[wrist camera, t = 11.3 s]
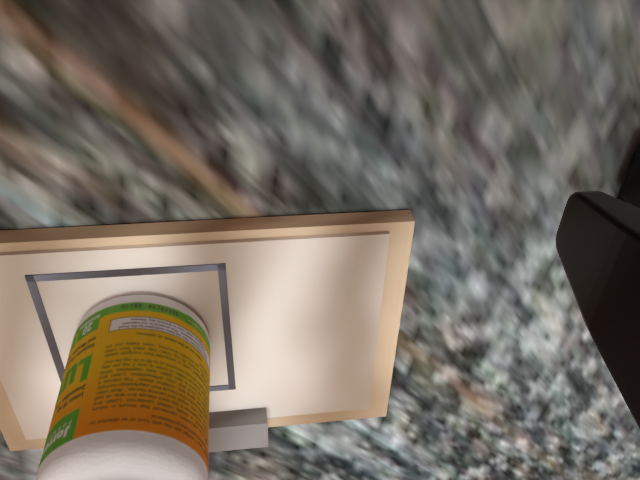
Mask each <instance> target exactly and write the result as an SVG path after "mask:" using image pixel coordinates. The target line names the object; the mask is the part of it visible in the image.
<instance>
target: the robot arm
mask: <svg viewBox="0 0 640 480" xmlns="http://www.w3.org/2000/svg"><path fill="white" fill-rule="evenodd" d="M556 248H557V252H558V254H559V257H560V259H561V262H562V265H563V267H564V270H565V272H566V275H567V278H568V280H569V283H570V285H571V288H572V291H573V293H574V296H575V298H576V301H577V303H578V306H579V309H580V311H581V314H582V316H583V319H584V321H585V323H586V326H587V328H588V330H589V332H590V334H591V336H592V338H593V340H594V342H595V344H596V346H597V348H598V350H599V352H600V354H601V356H602V358H603V360H604V362H605V364H606V365H607V367H608V369H609V371H610V373H611V375H612V377H613V379H614V381H615V383H616V385H617V386H618V388H619V390H620V392H621V394H622V396H623V398H624V400H625V402H626V404H627V406H628V407H629V409H630V411H631V413H632V415H633V417H634V419H635V421H636V423H637V425H638V427H639V428H640V145H639V147H638V150H637V153H636V155H635V158H634V160H633V163H632V166H631V168H630V171H629V173H628V176H627V179H626V181H625V184H624V186H623V189H622V192H621V194H620V197H619V199H617V198H614V197H612V196H610V195H608V194H605V193H603V192H600V191H586V192H575V193H574V194H572V195H571V196H570V197H569V199H568V201H567V204H566V207H565V210H564V213H563V216H562V219H561V222H560V225H559V228H558V231H557V235H556Z"/></svg>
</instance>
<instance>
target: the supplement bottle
mask: <svg viewBox="0 0 640 480" xmlns="http://www.w3.org/2000/svg"><path fill="white" fill-rule="evenodd" d="M209 395H210V339H209V335H208V332H207V330H206V327H205V326H204V324H203V322H202V321H201V320H200V318H199V317H198V316H197V315H196V314H195V313H194V312H192V311H191V310H190V309H189V308H187V307H186V306H184V305H182V304H180V303H178V302H176V301H173V300H170V299H167V298H163V297H159V296H153V295H129V296H122V297H117V298H114V299H111V300H108V301H105V302H103V303H101V304H99V305H98V306H96V307H95V308H93V309H92V310H90V311H89V312H88V313H87V314H86V315H85V316H84V317H83V319H82V320H81V321H80V323H79V325H78V327H77V329H76V332H75V335H74V338H73V341H72V344H71V348H70V352H69V356H68V360H67V363H66V367H65V371H64V375H63V379H62V382H61V386H60V390H59V394H58V398H57V401H56V404H55V409H54V413H53V416H52V420H51V424H50V428H49V431H48V435H47V439H46V442H45V446H44V450H43V454H42V458H41V461H40V465H39V468H38V472H37V478H36V480H208V452H209Z"/></svg>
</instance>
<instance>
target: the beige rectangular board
mask: <svg viewBox="0 0 640 480" xmlns="http://www.w3.org/2000/svg"><path fill="white" fill-rule="evenodd" d="M414 225H415V220H414V218H413V216H412V213H411V211H410V210H395V211H375V212H356V213H336V214H316V215H297V216H277V217H257V218H237V219H218V220H198V221H178V222H159V223H139V224H119V225H100V226H80V227H60V228H40V229H21V230H1V231H0V430H1V432H2V434H3V436H4V438H5V441H6V443H7V445H8V447H9V449H10V451H18V450H29V449H39V448H44V446H45V442H46V439H47V435H48V431H49V428H50V424H51V420H52V416H53V413H54V409H55V404H56V401H57V398H58V394H59V390H60V386H61V382H62V379H63V375H64V371H65V367H66V363H67V360H68V356H69V352H70V348H71V344H72V341H73V338H74V335H75V332H76V329H77V327H78V325H79V323H80V321H81V320H82V319H83V317H84V316H85V315H86V314H87V313H88V312H89V311H90V310H92V309H93V308H95V307H96V306H98V305H99V304H101V303H103V302H105V301H108V300H111V299H114V298H117V297H122V296H129V295H153V296H159V297H163V298H167V299H170V300H173V301H176V302H178V303H180V304H182V305H184V306H186V307H187V308H189V309H190V310H191V311H192V312H194V313H195V314H196V315H197V316H198V317H199V318H200V320H201V321H202V322H203V324H204V326H205V327H206V330H207V332H208V335H209V339H210V395H209V452H218V451H229V450H239V449H249V448H259V447H268V427H276V426H286V425H297V424H308V423H319V422H329V421H340V420H351V419H362V418H372V417H383V416H386V413H387V406H388V399H389V392H390V386H391V379H392V372H393V366H394V359H395V352H396V345H397V339H398V332H399V325H400V319H401V312H402V305H403V298H404V292H405V285H406V278H407V272H408V265H409V258H410V251H411V245H412V238H413V231H414Z"/></svg>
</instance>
